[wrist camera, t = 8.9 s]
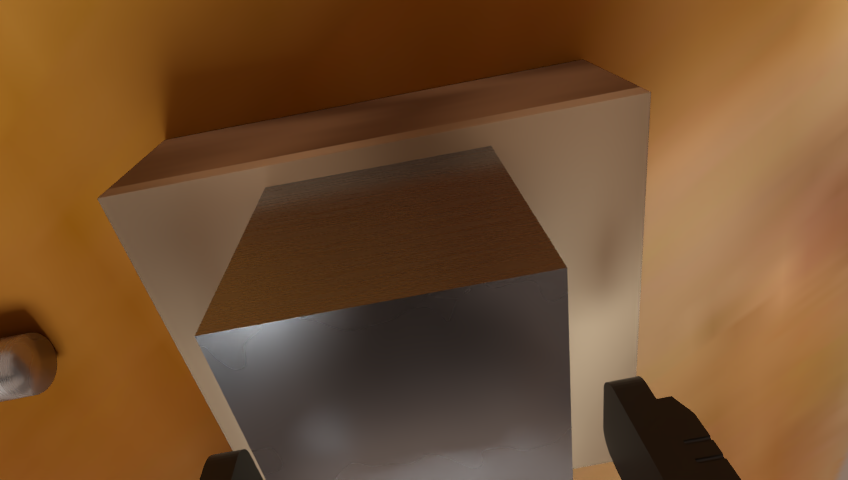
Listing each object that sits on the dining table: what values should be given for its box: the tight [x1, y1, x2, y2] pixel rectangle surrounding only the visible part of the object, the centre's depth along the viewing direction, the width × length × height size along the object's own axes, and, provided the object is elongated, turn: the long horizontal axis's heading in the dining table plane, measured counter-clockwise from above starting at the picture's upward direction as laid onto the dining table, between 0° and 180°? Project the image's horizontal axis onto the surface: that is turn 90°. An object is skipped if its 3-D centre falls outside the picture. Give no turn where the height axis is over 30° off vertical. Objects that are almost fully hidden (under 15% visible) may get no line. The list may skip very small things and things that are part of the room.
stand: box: [97, 60, 651, 480], centre depth 16 cm, size 12×12×4 cm
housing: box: [195, 146, 573, 480], centre depth 12 cm, size 11×5×5 cm, turn 9°
